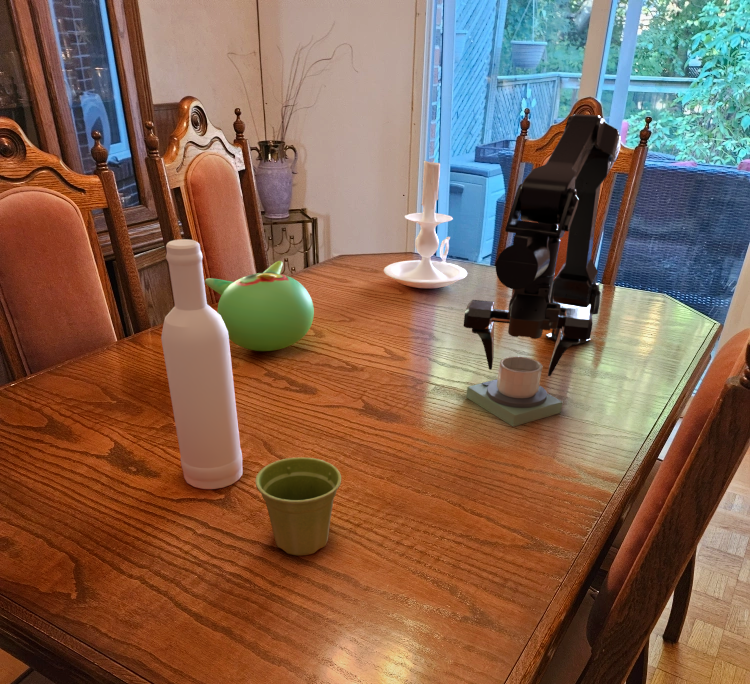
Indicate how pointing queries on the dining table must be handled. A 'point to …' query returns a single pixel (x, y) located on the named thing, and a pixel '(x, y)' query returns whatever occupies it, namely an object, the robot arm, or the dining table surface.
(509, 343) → the dining table surface
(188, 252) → the bottle
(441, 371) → the dining table surface
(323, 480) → the plant pot
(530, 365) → the cup
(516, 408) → the scale
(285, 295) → the green rounded piece
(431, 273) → the candlestick
